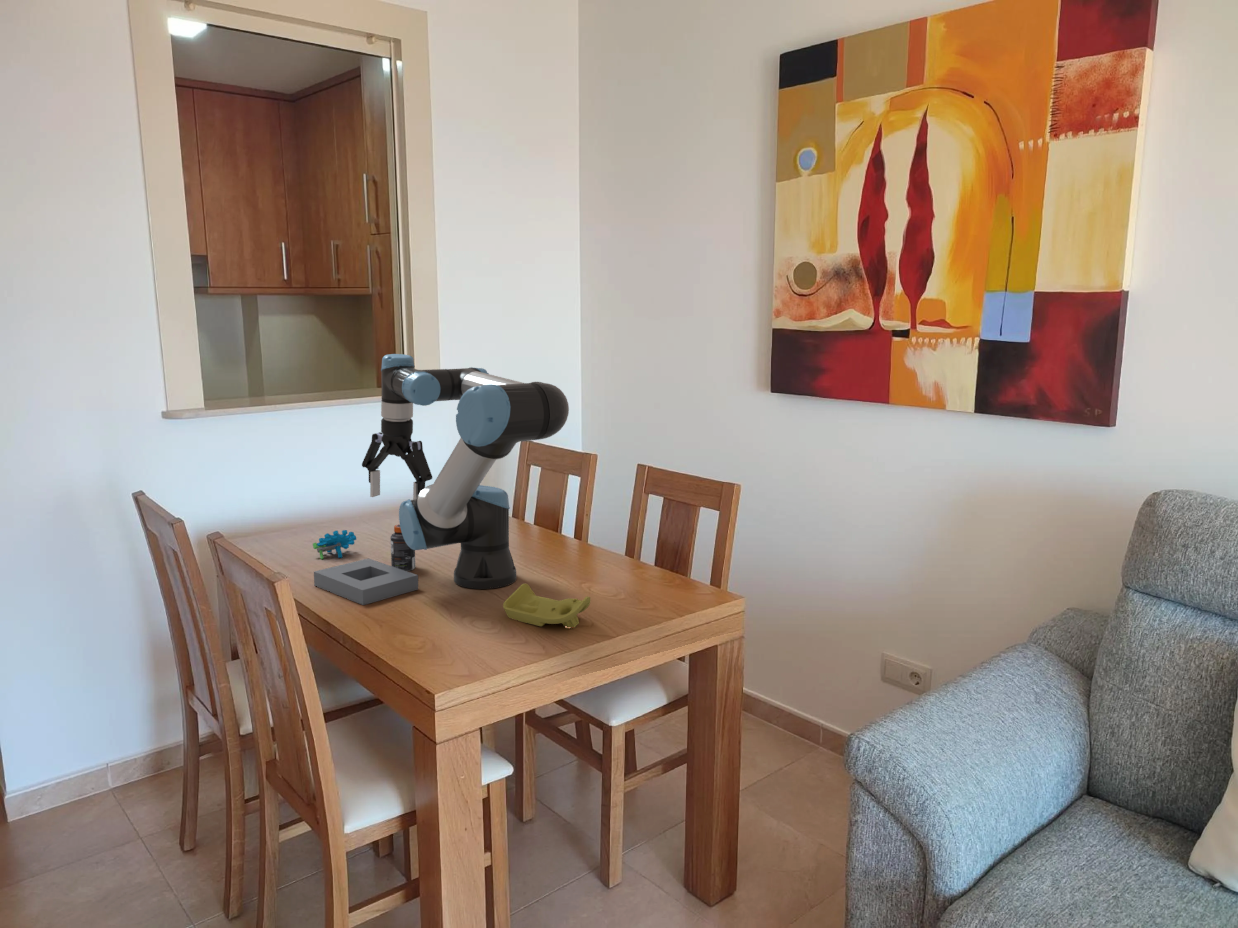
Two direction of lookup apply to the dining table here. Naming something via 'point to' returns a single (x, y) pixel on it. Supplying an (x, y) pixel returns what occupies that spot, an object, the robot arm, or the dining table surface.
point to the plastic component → (543, 608)
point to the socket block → (366, 581)
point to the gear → (334, 542)
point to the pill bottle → (401, 551)
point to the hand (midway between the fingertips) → (396, 501)
